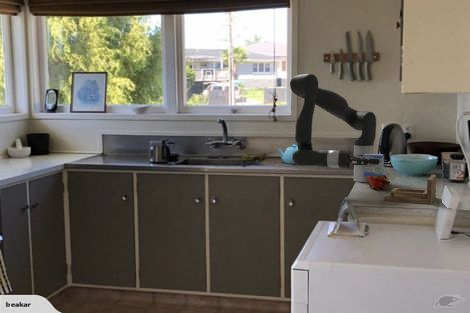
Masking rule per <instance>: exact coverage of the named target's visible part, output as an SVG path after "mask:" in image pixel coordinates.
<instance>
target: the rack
mask: <svg viewBox="0 0 470 313" xmlns="http://www.w3.org/2000/svg"><path fill="white" fill-rule="evenodd" d="M436 192H437V174H431V175H430V176H429V178H428V179H427V181H426V189H421V188H419V189H418V188H405V187H393V189H392V190H390V192H388V193H387V194H386V195H385V196H384V197H383V201H384V202H391V203H392V202H395V203H406V204H407V203H408V204H409V203H410V204H419V205H420V204H421V205H423V204H424V205H431V204H433V202H434V201H435V199H437V198H436V196H437V194H436Z"/></svg>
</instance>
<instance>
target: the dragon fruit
mask: <svg viewBox="0 0 470 313" xmlns="http://www.w3.org/2000/svg"><path fill="white" fill-rule="evenodd" d="M366 183H368V186H369V188H374V189H376V190H378V191H380V190H381V189H384V188H387V186H389V185H390V183H391V180H390V181H389V179H388V177H387V175H386V174H384V175H383V176H369V177H368V180H367V182H366Z"/></svg>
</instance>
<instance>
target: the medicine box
mask: <svg viewBox="0 0 470 313" xmlns="http://www.w3.org/2000/svg"><path fill="white" fill-rule="evenodd" d="M363 157H364V158H369V160H370V159H379V164H378V165H376V164H370V163H369V165H363V175H364V176H383V175H385V153H384V154H380V153H374V154H364V156H363Z"/></svg>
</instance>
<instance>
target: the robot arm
mask: <svg viewBox="0 0 470 313" xmlns="http://www.w3.org/2000/svg"><path fill="white" fill-rule="evenodd" d="M289 87H290V90H291V92H292V93H293V94H294V95H295V96H297V97H299V98H302V99H303V104H302V107H301V111H300V113H299V115H298V117H297V120H296V123H295V136H294V137H295V139H294V140H295V143H297V144H296V145H297V147H298V150H297V151H295V152H294V154H293V156H292V159H293V161H294V163H295V164H294V165H297V166H302V167H303V166H307V167H311V166H312V167H313V166H316V167H324V168H333V169H351V168H352V166H353V182H357V183H368V182H367V180H368V177H369V176H364V175H363V165H369V163H370V164H376V165H378V164H379V159H370V160H369V158H364V157H363V156H364V154H375V152H374V151H375V140H376V135H377V134H376V133H377V117H376V115H375V113H374V112H372V111H361V110H357V109H354V108H352V107H350V106H349V103H348V101H347V100H346V99H345V97H343V96H341V95H340V94H339V93H338V92H337V93H336V92H335V91H333V90H330V89H325V88H320V87H319V80H318V77H317V76H316V75H315V74H313V73H305V74H304V73H303V74H297V75H295V76H293V77H292V78H291V79H290V82H289ZM316 106H317V107H319V108H321V109H322V110H324V111H326V112H327V113H329V114H331V115H333V116H334V117H335V118H338V119H340V120H342V121H343V122H345V124H346V125H348V126H350V127H351V128H352V129H353V130H355V131H359V132H360V131H361V134H360V136H359V137H357V138H355V139H354V141H353V152H352V151H351V150H346V149H345V150H343V149H342V150H341V149H332V150H330V149H329V150H327V149H326V150H325V149H324V150H323V149H319V150H315V149H313V143H312V138H313V137H312V136H313V130H312V129H313V118H314V113H315V112H314V111H315V108H316Z"/></svg>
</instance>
